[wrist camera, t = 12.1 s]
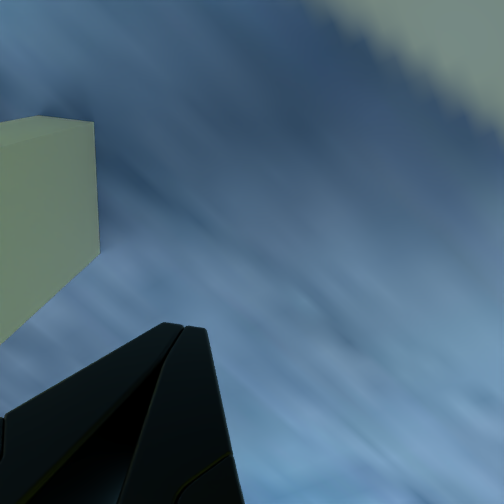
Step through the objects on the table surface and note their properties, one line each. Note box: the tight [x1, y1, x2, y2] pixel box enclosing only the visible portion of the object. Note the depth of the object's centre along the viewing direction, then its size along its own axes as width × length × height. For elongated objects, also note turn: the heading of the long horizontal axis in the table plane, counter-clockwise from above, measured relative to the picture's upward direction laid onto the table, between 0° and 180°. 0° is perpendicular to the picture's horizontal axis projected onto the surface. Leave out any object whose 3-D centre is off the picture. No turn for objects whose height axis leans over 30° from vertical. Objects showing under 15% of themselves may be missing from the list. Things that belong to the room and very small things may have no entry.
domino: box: [0, 115, 100, 345], centre depth 12 cm, size 2×5×8 cm, turn 174°
